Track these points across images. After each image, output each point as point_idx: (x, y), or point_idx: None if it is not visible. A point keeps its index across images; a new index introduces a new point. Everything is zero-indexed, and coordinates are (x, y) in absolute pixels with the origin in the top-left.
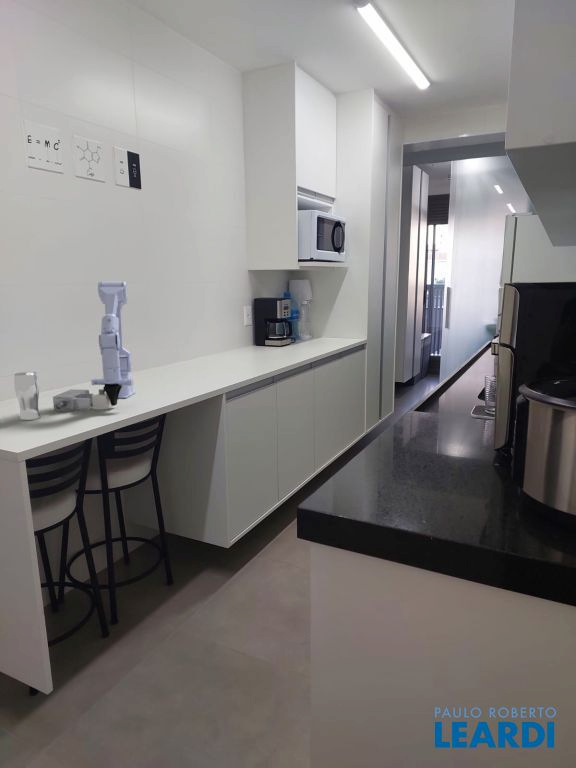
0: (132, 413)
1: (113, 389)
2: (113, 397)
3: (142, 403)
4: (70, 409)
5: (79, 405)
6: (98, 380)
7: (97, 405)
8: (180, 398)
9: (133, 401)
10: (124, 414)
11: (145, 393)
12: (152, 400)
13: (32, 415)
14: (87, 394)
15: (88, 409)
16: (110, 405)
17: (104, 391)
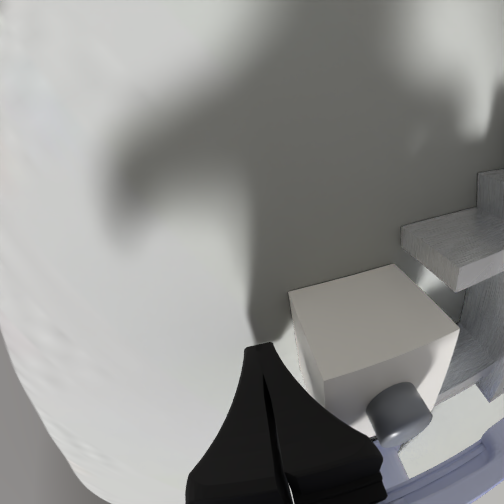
0: (21, 262)
1: (223, 470)
2: (245, 397)
3: (168, 440)
4: (497, 174)
5: (480, 223)
6: (470, 499)
7: (372, 288)
8: (102, 484)
9: None
10: (41, 218)
11: None
12: (170, 470)
13: None
14: (485, 366)
15: (411, 226)
16: (299, 355)
17: (374, 428)
